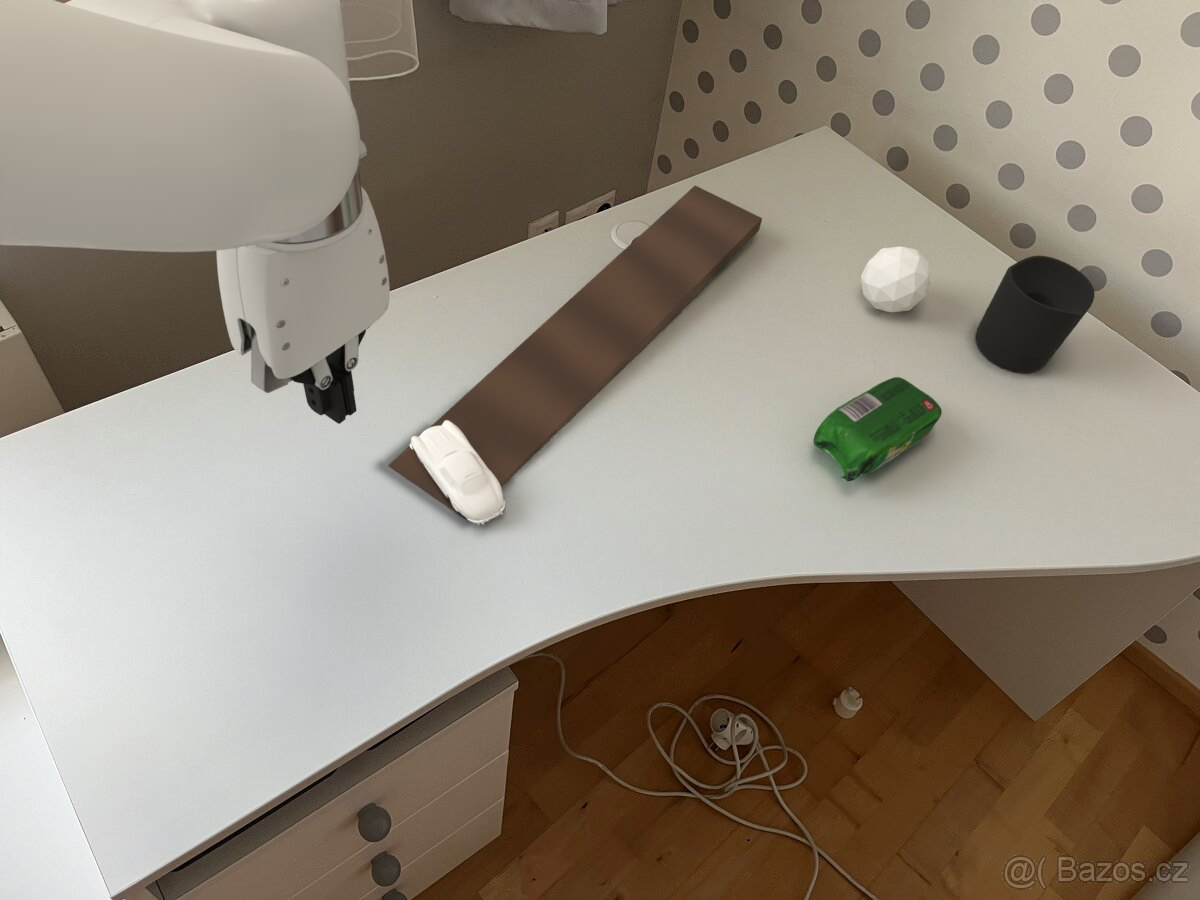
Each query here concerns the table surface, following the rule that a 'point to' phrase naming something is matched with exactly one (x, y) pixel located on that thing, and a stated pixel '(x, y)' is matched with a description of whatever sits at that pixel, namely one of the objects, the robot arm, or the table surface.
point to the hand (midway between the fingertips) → (333, 408)
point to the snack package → (877, 426)
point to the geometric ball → (896, 279)
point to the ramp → (592, 337)
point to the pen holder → (1033, 313)
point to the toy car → (459, 472)
